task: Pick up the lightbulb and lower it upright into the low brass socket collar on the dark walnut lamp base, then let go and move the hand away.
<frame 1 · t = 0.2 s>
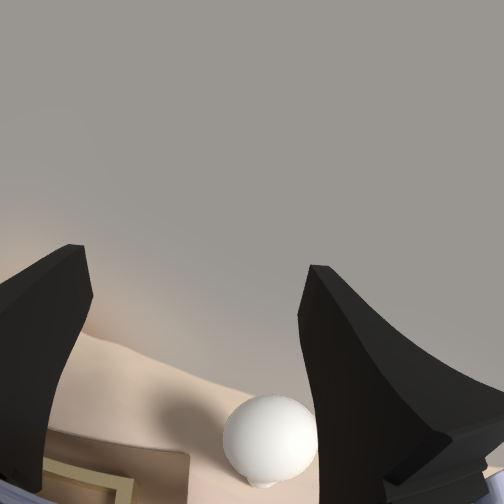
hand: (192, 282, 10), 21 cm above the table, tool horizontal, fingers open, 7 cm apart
lightbulb: (260, 479, 22), on the table
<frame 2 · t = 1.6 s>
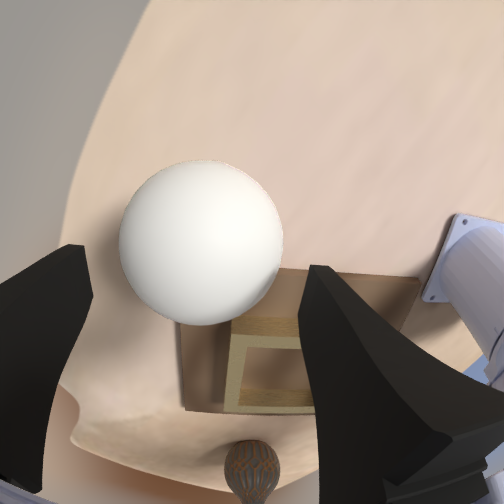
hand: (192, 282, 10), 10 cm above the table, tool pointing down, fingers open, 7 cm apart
lamp base: (287, 356, 27), on the table
vase: (251, 444, 37), on the table
lightbulb: (215, 175, 19), on the table
socket collar: (290, 372, 26), on the lamp base, point 1 cm above the table
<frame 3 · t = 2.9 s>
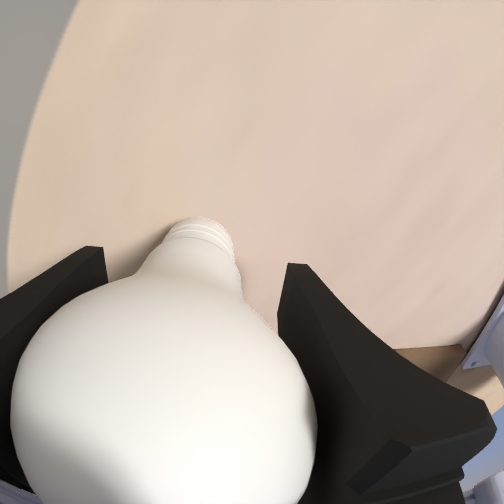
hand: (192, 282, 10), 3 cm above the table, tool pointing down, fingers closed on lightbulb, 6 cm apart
lamp base: (298, 430, 21), on the table
lightbulb: (202, 234, 13), on the table, touching gripper
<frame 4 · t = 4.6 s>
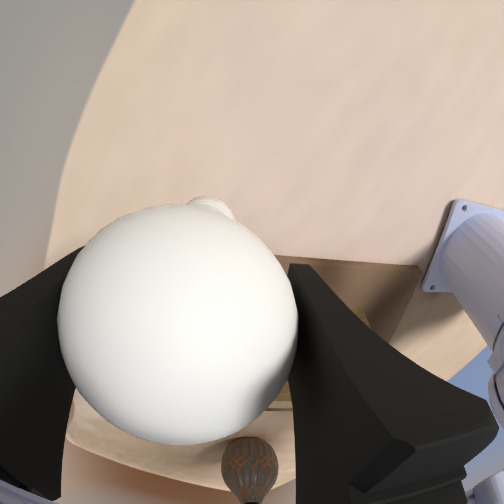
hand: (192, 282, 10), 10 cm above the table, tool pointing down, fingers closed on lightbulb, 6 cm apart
lamp base: (284, 348, 27), on the table
vase: (248, 441, 36), on the table
lightbulb: (208, 215, 15), point 4 cm above the table, touching gripper
socket collar: (286, 364, 25), on the lamp base, point 1 cm above the table
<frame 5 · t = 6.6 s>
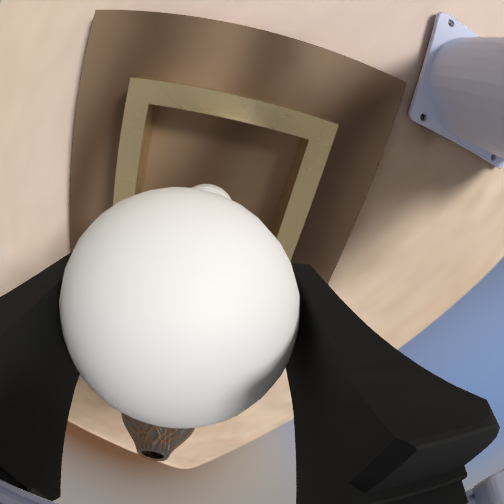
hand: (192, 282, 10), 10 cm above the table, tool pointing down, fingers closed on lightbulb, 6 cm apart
lamp base: (214, 177, 19), on the table
vase: (166, 371, 28), on the table
lightbulb: (208, 203, 15), point 4 cm above the table, touching gripper
socket collar: (212, 187, 17), on the lamp base, point 1 cm above the table
when the fingers open (5 cm above the table, at t = 9.0 s): lightbulb stays where it is, resting on lamp base.
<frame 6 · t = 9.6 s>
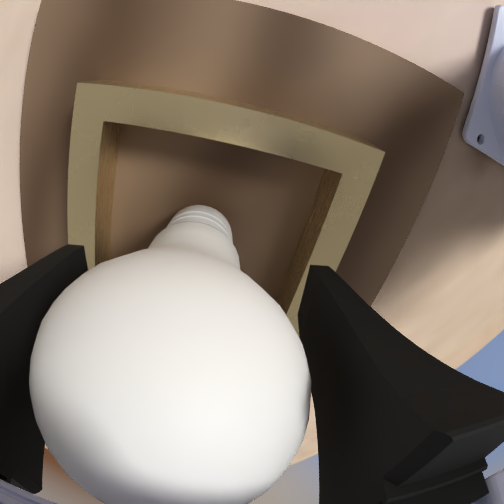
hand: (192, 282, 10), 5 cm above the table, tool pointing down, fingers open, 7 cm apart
lamp base: (205, 217, 14), on the table
lightbulb: (202, 223, 13), point 1 cm above the table, touching lamp base
socket collar: (201, 237, 12), on the lamp base, point 1 cm above the table
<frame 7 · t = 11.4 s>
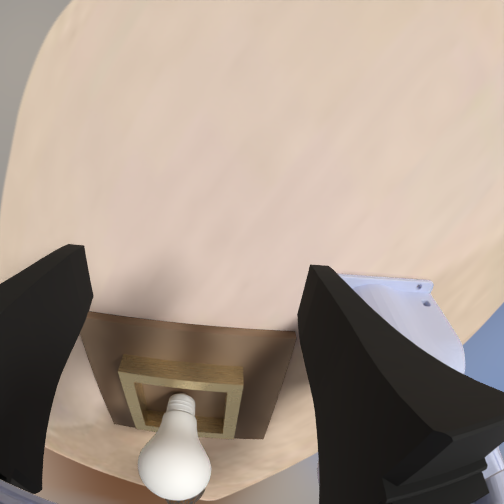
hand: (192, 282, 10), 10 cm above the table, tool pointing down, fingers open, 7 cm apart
lamp base: (184, 388, 29), on the table
vase: (183, 456, 39), on the table
lightbulb: (183, 393, 29), point 1 cm above the table, touching lamp base
socket collar: (182, 403, 28), on the lamp base, point 1 cm above the table
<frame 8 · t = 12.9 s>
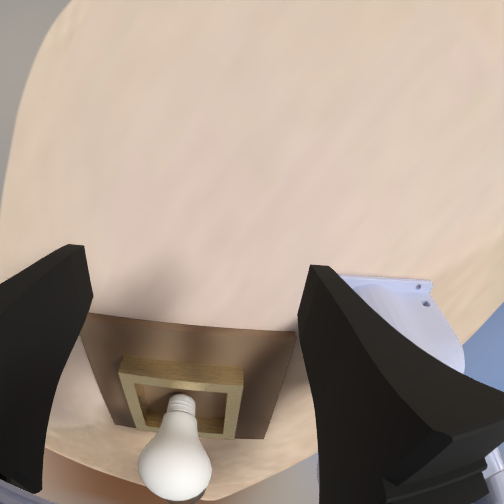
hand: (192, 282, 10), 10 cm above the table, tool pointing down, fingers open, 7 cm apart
lamp base: (184, 388, 29), on the table
lightbulb: (183, 393, 29), point 1 cm above the table, touching lamp base
socket collar: (183, 403, 28), on the lamp base, point 1 cm above the table
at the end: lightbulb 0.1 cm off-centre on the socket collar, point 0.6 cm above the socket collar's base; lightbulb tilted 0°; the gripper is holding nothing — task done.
